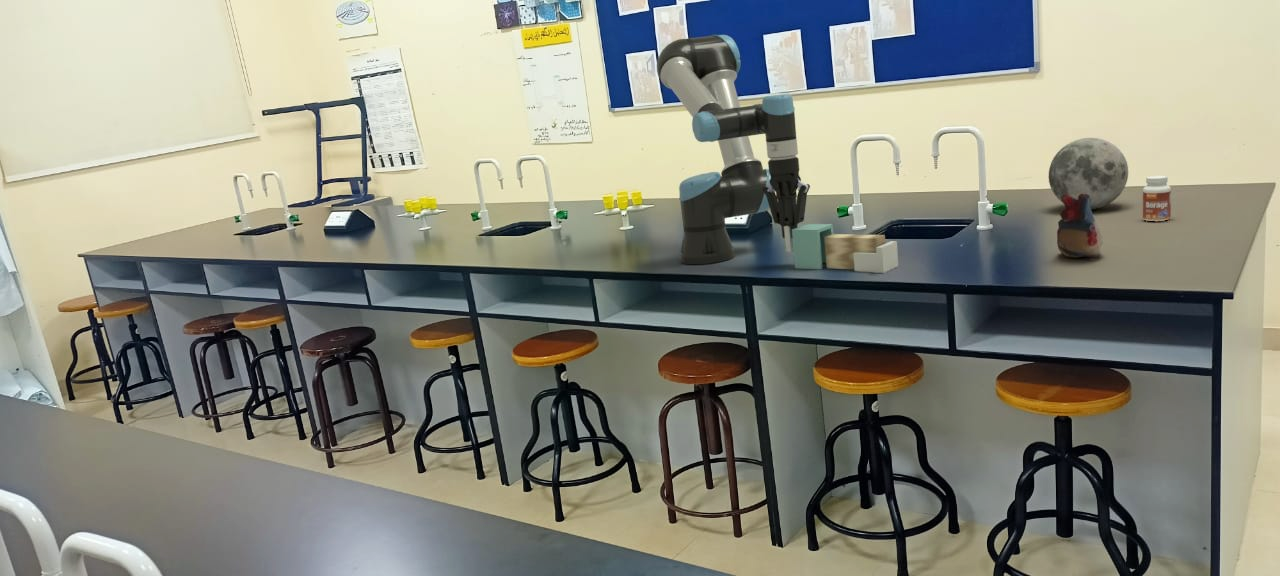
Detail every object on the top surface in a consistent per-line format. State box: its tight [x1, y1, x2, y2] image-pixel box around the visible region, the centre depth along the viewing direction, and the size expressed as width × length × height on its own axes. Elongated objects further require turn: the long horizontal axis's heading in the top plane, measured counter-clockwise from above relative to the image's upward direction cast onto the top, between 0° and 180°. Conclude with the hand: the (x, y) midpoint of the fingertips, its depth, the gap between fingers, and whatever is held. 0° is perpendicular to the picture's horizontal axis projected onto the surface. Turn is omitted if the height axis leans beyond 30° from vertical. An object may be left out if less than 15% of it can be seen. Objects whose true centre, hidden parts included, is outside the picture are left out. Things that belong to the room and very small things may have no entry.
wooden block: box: [824, 233, 886, 270], centre depth 221 cm, size 14×4×8 cm, turn 48°
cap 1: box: [792, 223, 835, 270], centre depth 228 cm, size 7×7×10 cm
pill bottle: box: [1142, 175, 1172, 220], centre depth 231 cm, size 6×6×11 cm
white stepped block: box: [853, 240, 899, 274], centre depth 217 cm, size 8×7×6 cm
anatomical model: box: [1056, 194, 1104, 258], centre depth 203 cm, size 9×13×15 cm
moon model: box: [1048, 137, 1129, 210], centre depth 256 cm, size 20×20×20 cm
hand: (791, 250), depth 233 cm, fingers closed
